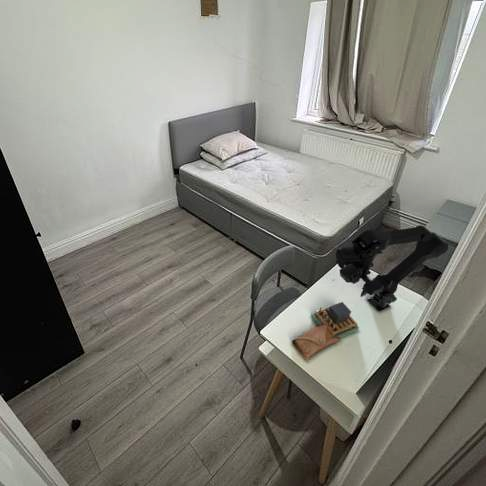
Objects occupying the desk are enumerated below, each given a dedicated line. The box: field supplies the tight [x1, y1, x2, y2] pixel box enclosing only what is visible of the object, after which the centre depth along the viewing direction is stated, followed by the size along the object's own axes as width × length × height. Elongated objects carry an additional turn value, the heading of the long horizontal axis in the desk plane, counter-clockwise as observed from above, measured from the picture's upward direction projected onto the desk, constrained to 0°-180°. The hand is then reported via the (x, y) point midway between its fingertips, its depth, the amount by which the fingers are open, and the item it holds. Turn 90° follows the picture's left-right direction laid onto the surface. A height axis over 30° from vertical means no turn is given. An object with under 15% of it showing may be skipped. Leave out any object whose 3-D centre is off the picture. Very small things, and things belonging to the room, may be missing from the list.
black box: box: [327, 301, 352, 325], centre depth 113 cm, size 6×5×6 cm
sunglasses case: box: [291, 321, 342, 361], centre depth 110 cm, size 18×7×7 cm, turn 118°
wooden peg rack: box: [311, 306, 360, 339], centre depth 115 cm, size 13×12×8 cm
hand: (353, 287), depth 117 cm, fingers open, 9 cm apart
